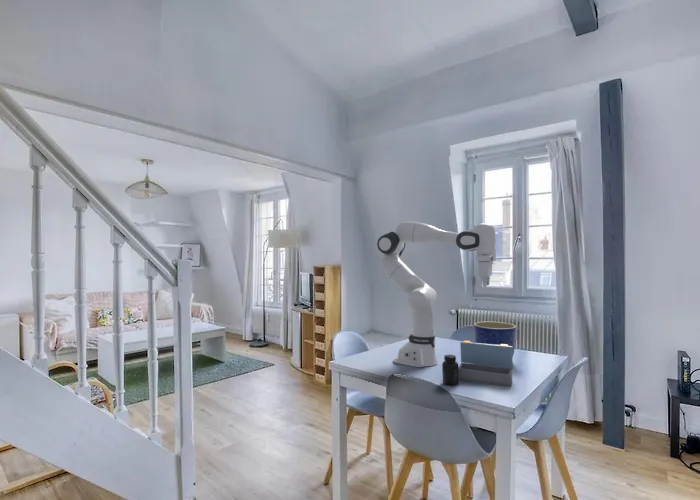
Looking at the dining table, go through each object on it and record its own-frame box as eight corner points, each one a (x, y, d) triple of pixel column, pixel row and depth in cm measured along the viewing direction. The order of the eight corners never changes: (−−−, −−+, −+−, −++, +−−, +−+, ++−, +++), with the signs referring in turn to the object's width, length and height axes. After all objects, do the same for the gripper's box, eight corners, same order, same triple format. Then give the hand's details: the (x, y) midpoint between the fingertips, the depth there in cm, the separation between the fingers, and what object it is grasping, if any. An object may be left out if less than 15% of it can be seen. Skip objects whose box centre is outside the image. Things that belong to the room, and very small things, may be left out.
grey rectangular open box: (457, 379, 174) (457, 368, 174) (461, 373, 183) (461, 362, 183) (510, 386, 165) (510, 375, 165) (512, 379, 174) (512, 368, 174)
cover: (459, 341, 180) (460, 339, 182) (460, 364, 182) (461, 361, 184) (511, 346, 170) (512, 344, 173) (512, 370, 172) (512, 367, 174)
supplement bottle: (455, 380, 173) (455, 353, 173) (460, 386, 166) (460, 357, 166) (440, 381, 172) (440, 354, 173) (444, 386, 166) (444, 358, 166)
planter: (520, 368, 191) (520, 329, 191) (476, 366, 195) (476, 327, 195) (511, 357, 211) (511, 322, 211) (472, 355, 215) (471, 320, 215)
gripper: (481, 256, 198) (482, 284, 198) (476, 257, 180) (476, 287, 180) (495, 256, 195) (495, 284, 195) (490, 257, 177) (490, 287, 177)
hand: (486, 285), depth 187 cm, fingers open, 8 cm apart
